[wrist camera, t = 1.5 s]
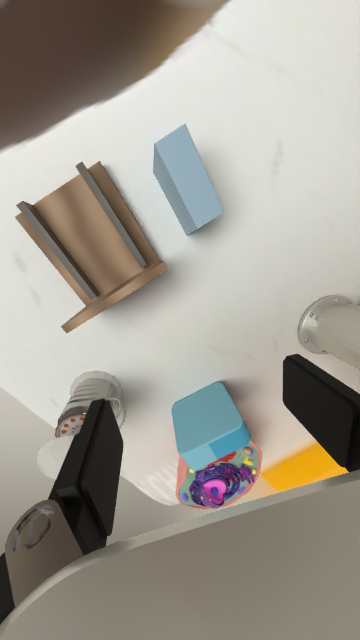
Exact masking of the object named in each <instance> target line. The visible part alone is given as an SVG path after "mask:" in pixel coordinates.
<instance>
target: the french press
mask: <svg viewBox="0 0 360 640" xmlns="http://www.w3.org/2000/svg"><path fill="white" fill-rule="evenodd" d="M70 396H71V399H69V401H68V403H67V404H68V405H66V407H65V408H64V410H63V412H62V414H61V416H60V417H59V419H58V426H57V427H56V434H55V436H56V438H55V439H53V440H51V441H49V442H48V443H46V444H45V445H43V447H42V448H41V450H40V452H39V453H38V458H37V464H38V466H39V468H40V469H41V471H42V473H44V474H45V475H46V476H48V477H49V478H51V479H54V480H56V479H57V476H58V474H59V471H60V469H61V466H62V464H63V462H64V459H65V457H66V454H67V452H68V450H69V447H70V445H71V442H72V440H73V438H74V436H75V435H76V434H77V433H79V432H80V429H81V426H82V424H83V421H84V419H85V416H86V414H83V412H84V413H87V411H88V409H89V406H90V404H91V402H92V401H93V400H97V399H102V398H105V400H106V401H107V400H109V401H110V404H111V407H112V410H113V409H114V407H115V406H116V407H119V411H118V414H117V415H116V417H115V419H117V417H118V415H119V413H120V409H121V408H122V409H123V411H124V417H123V421H122V423H121V425H120V427H119V430H120V428H121V426H122V425H123V423H124V421H125V415H126V411H125V408H124V407H123V406H121V402H120V400H121V397H122V388H121V385H120V383H119V381H118V380H117V379H116V378H115V377H114V376H112V375H110V374H108V373H106V372H101V371H91V372H86V373H83V374H82V375H80V376H79V377H77V378H76V379H75V380H74V382H73V383H72V385H71V389H70ZM69 402H70V404H69ZM118 403H119V405H117V404H118ZM64 412H65V413H64ZM63 413H64V415H63Z"/></svg>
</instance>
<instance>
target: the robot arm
mask: <svg viewBox="0 0 360 640" xmlns="http://www.w3.org/2000/svg"><path fill="white" fill-rule="evenodd" d="M298 333H299V339H300V342H301V344H302V345H303V347H305V348H306V349H307V350H309V351H310V352H312V353H315V354H327V353H330V354H332V355H333V356H335V357H337V358H339V359H341V360H343V361H345V362H346V363H348V364H350V365H352V366H354V367H356V368H358V369H359V370H360V306H358V305H354V304H353V303H352V302H351V301H350V300H348V299H346V298H344V297H340V296H328V297H325V298H322V299H320V300H318V301H317V302H315V303H314V304H313V305H311V306H310V307H309V309H308V310H307V311H306V312H305V314H304V315H303V317H302V319H301V321H300V325H299V332H298ZM283 403H284V405H285V406H286V407H287V409H288V410H289V411H290V412H291V413H292V414H293V415H294V416H295V417H296V418H297V419H298V421H299V422H300V423H301V424H302V425H303V426H304V427H305V428H306V429H307V430H308V432H309V433H310V434H311V435H312V436H313V437H314V438H315V439H316V440H317V441H318V443H319V444H320V445H321V446H322V447H323V448H324V449H325V450H326V451H327V452H328V454H329V455H330V456H331V457H332V458H333V459H334V460H335V461H336V462H337V463H338V464H339V465H340V466H341V467H345V468H346V469H347V471H348V472H349V473H346V474H342V475H339V476H335V477H332V478H329V479H325V480H321V481H318V482H315V483H311V484H307V485H304V486H301V487H297V488H294V489H290V490H287V491H284V492H280V493H277V494H274V495H270V496H267V497H263V498H260V499H256V500H253V501H249V502H246V503H243V504H239V505H236V506H233V507H229V508H226V509H222V510H220V511H216V512H213V513H209V514H206V515H203V516H199V517H196V518H193V519H189V520H186V521H183V522H180V523H176V524H173V525H169V526H166V527H163V528H160V529H157V530H154V531H151V532H147V533H144V534H141V535H138V536H135V537H132V538H129V539H126V540H123V541H119V542H117V543H114V544H111V545H109V546H106V541H107V536H109V535H111V533H112V528H113V521H114V513H115V506H116V498H117V490H118V483H119V476H120V468H121V460H122V453H123V439H122V436H121V433H120V430H119V428H118V425H117V422H116V419H115V416H114V413H113V410H112V407H111V404H110V401H109V400H107V401H106V400H105V398H102V399H97V400H93V401H92V402H91V404H90V406H89V409H88V411H87V414H86V416H85V419H84V421H83V424H82V426H81V429H80V432H79V433H77V434H76V435H75V436H74V438H73V440H72V442H71V445H70V447H69V450H68V452H67V454H66V457H65V459H64V462H63V464H62V466H61V469H60V471H59V474H58V476H57V479H56V481H55V483H54V486H53V488H52V491H51V493H50V496H49V498H48V500H43V501H41V502H39V503H37V504H35V505H34V506H33V507H31V508H30V509H29V510H27V511H26V512H25V513H24V514H23V515H22V516H21V517H20V519H19V520H18V521H17V523H16V524H15V525H14V526H13V528H12V530H11V532H10V533H9V535H8V538H7V541H6V544H5V552H4V553H3V554H2V555H1V556H0V640H360V394H359V393H357V392H356V391H354V390H353V389H351V388H350V387H348V386H347V385H345V384H344V383H342V382H341V381H339V380H338V379H336V378H334V377H333V376H331V375H330V374H328V373H327V372H325V371H324V370H322V369H321V368H319V367H318V366H316V365H315V364H313V363H312V362H310V361H308V360H307V359H305V358H304V357H302V356H301V355H299V354H294V355H290V356H287V357H286V358H285V360H284V361H283Z"/></svg>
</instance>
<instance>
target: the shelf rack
mask: <svg viewBox="0 0 360 640" xmlns="http://www.w3.org/2000/svg"><path fill="white" fill-rule="evenodd" d="M76 168H77V170H78V171H79V173H80V174H79V175H78V176H76V177H75V178H73V179H72V180H70V181H69V182H67V183H66V184H64V185H63V186H61V187H60V188H58V189H57V190H55V191H54V192H52V193H51V194H49V195H48V196H46V197H44V198H43V199H41V200H40V201H38V202H37V203H35V204H34V205H31V204H29V203H26V202H24V201H22V202H20V203H19V204H17V205H16V206H17V207H18V208H19V209H20V211H21V212H22V213H20V214H19V215H17V216H16V217H15V218H16V219H17V221H18V222H19V223H20V224H21V225H22V227H23V228H24V229H25V230H26V232H27V233H28V234H29V235H30V237H31V238H32V239H33V240H34V242H35V243H36V244H37V245H38V247H39V248H40V249H41V250H42V252H43V253H44V254H45V255H46V257H47V258H48V259H49V260H50V262H51V263H52V264H53V265H54V266H55V268H56V269H57V270H58V271H59V273H60V274H61V275H62V276H63V278H64V279H65V280H66V281H67V283H68V284H69V285H70V286H71V288H72V289H73V290H74V291H75V293H76V294H77V295H78V296H79V298H80V299H81V300H82V301H83V302H84V304H85V305H86V307H85V308H84V309H82V310H81V311H80V312H79V313H77V314H76V315H75V316H74V317H72V318H71V319H70V320H69V321H67V322H66V323H65V324H64V325H62V326H61V327H62V328H63V330H64V331H65V332H66V333H68V332H70V331H72V330H73V329H75V328H76V327H78V326H80V325H81V324H83V323H84V322H86V321H87V320H89V319H91V318H92V317H94V316H95V315H97V314H99V313H100V312H102V311H103V310H105V309H107V308H108V307H110V306H111V305H113V304H115V303H116V302H118V301H119V300H121V299H123V298H124V297H126V296H127V295H129V294H131V293H132V292H134V291H135V290H137V289H138V288H140V287H142V286H143V285H145V284H146V283H148V282H150V281H151V280H153V279H154V278H156V277H158V276H159V275H161V274H162V273H164V272H166V271H167V270H168V269H167V267H166V265H165V264H164V262H162V261H160V260H159V259H158V257H157V256H156V254H155V252H154V251H153V249H152V247H151V246H150V244H149V242H148V241H147V239H146V237H145V236H144V234H143V232H142V231H141V229H140V227H139V226H138V224H137V222H136V221H135V219H134V217H133V216H132V214H131V212H130V211H129V209H128V207H127V206H126V204H125V202H124V201H123V199H122V197H121V196H120V194H119V192H118V191H117V189H116V187H115V186H114V184H113V182H112V181H111V179H110V177H109V176H108V174H107V172H106V171H105V169H104V167H103V166H102V164H101V162H100V161H99V162H97V163H96V164H94V165H93V166H91V167H90V168H88V169H87V168H86V167H85V165H84V164H83V162H81V163H79V164H78V165H76Z"/></svg>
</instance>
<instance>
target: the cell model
mask: <svg viewBox="0 0 360 640" xmlns="http://www.w3.org/2000/svg"><path fill="white" fill-rule="evenodd" d="M261 460H262V452H261V450H260V449H259V447H258V446H257V445H256V443H255V442H254V441H253V440H252V439H250V442H249V443H248V444H247V445H246V446H244V447H242V448H240V449H238V450H236V451H234V452H232V453H230V454H228V455H226V456H224V457H222V458H220V459H218V460H216V461H214V462H212V463H210V464H208V465H206V466H204V467H202V468H200V469H198V470H192V469H190V468H189V467H188V465H187V464H186V462H185V461H184V459H183V458H182V457H181V455H180V457H179V463H178V469H177V485H176V497H177V499H178V501H179V502H180V503H181V504H183V505H185V506H187V507H192V508H196V509H211V508H213V509H214V508H219V507H224V506H227V505H229V504H231V503H233V502H235V501H236V500H237V499H239V498H240V497H241V496H243V495H244V494H246V493H247V492H248V491H249V490H250V489H251V488H252V486H253V485H254V483H255V482H256V480H257V478H258V476H259V473H260V469H261Z"/></svg>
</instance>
